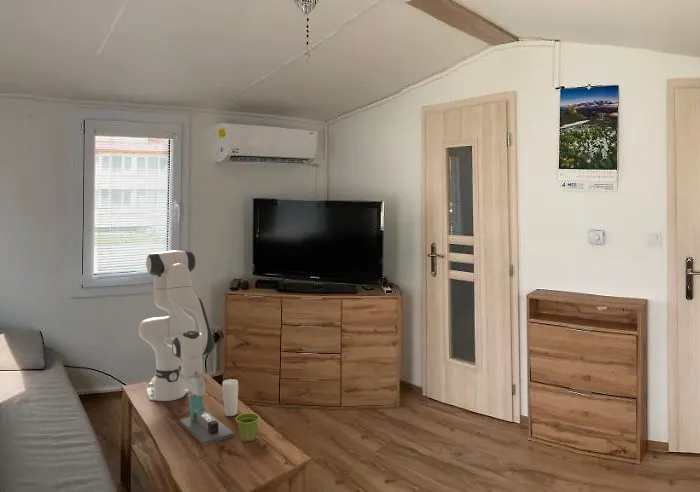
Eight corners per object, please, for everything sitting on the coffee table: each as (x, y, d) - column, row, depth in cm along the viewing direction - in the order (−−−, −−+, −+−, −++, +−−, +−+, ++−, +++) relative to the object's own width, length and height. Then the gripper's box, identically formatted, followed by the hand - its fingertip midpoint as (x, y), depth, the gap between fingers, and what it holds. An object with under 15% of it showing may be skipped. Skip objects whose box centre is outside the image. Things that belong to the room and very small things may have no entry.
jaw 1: (195, 420, 230) (195, 411, 229) (199, 419, 231) (199, 410, 230) (211, 434, 217) (211, 424, 217) (215, 433, 218) (214, 423, 218)
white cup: (234, 418, 237) (234, 384, 235) (220, 416, 238) (219, 383, 237) (241, 412, 243) (240, 379, 242) (226, 410, 245) (226, 378, 243)
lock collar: (189, 418, 232) (189, 396, 231) (202, 415, 235) (201, 393, 234) (192, 420, 229) (192, 398, 228) (204, 417, 233) (204, 395, 232)
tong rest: (179, 422, 231) (178, 412, 231) (208, 415, 239) (207, 405, 239) (203, 445, 211) (203, 434, 211) (234, 436, 219) (234, 425, 218)
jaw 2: (199, 419, 231) (199, 410, 230) (202, 419, 231) (202, 409, 231) (215, 433, 218) (214, 423, 218) (218, 432, 219) (218, 422, 218)
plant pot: (264, 436, 220) (264, 415, 219) (250, 445, 211) (250, 424, 210) (245, 431, 223) (244, 411, 222) (231, 441, 215) (230, 420, 214)
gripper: (208, 374, 227) (209, 406, 229) (190, 362, 244) (191, 392, 245) (194, 377, 224) (195, 409, 225) (176, 364, 240) (177, 395, 241)
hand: (192, 400), depth 235 cm, fingers closed
